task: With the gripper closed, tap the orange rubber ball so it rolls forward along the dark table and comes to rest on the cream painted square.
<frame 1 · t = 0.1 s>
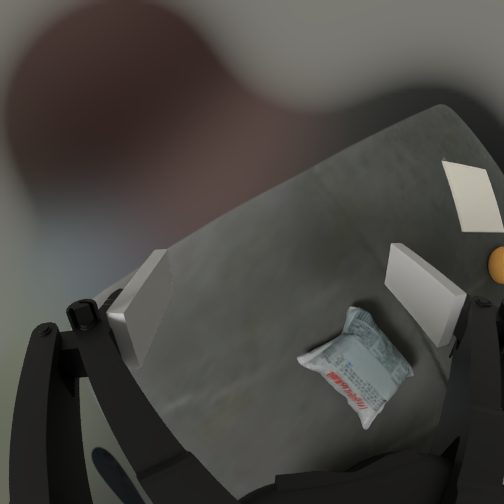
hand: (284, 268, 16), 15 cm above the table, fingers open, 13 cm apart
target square: (475, 197, 34), on the table
packaged food: (353, 367, 29), on the table
ball: (503, 265, 28), on the table
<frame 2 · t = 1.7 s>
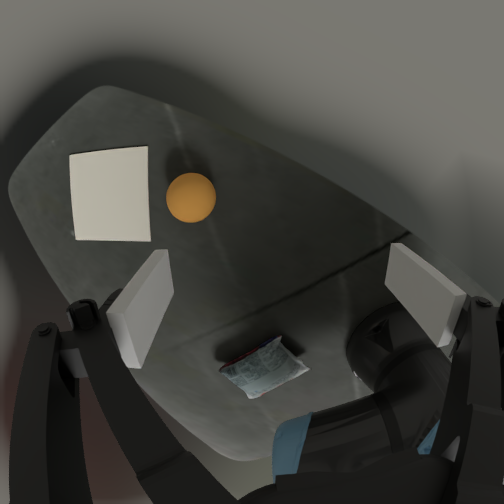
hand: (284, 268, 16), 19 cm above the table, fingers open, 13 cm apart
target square: (107, 195, 32), on the table
packaged food: (264, 360, 42), on the table
ball: (191, 197, 30), on the table
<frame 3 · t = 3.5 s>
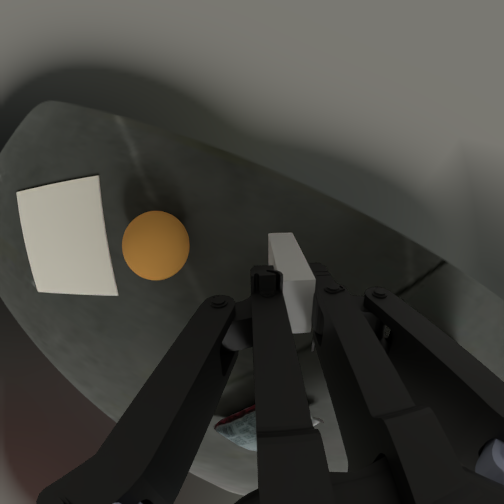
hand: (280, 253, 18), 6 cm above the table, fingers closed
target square: (61, 241, 24), on the table
packaged food: (267, 412, 33), on the table
ball: (155, 245, 21), on the table
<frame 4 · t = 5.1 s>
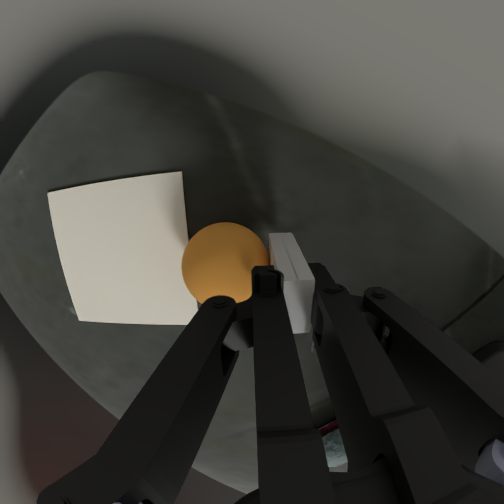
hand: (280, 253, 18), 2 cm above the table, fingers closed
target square: (117, 257, 20), on the table
packaged food: (341, 426, 29), on the table
ball: (225, 266, 18), on the table, touching gripper
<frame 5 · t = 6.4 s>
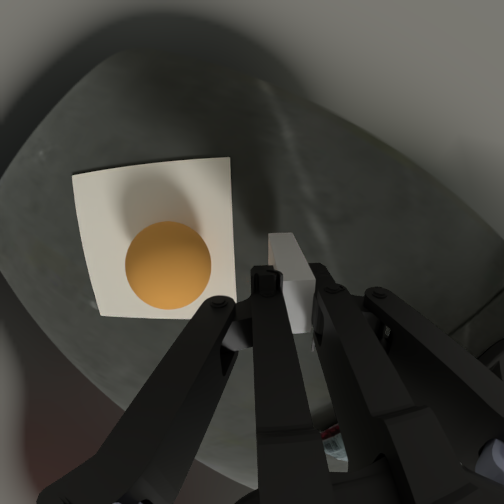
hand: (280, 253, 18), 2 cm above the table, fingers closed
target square: (151, 247, 20), on the table
packaged food: (360, 419, 29), on the table
ball: (167, 265, 17), on the table
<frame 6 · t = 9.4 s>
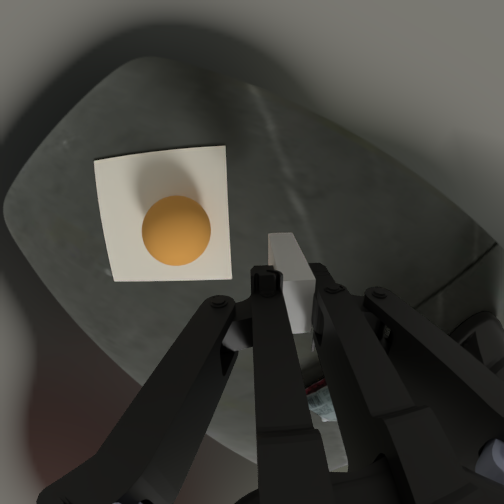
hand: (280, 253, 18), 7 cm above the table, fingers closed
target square: (161, 219, 24), on the table
packaged food: (342, 379, 34), on the table
ball: (176, 230, 21), on the table
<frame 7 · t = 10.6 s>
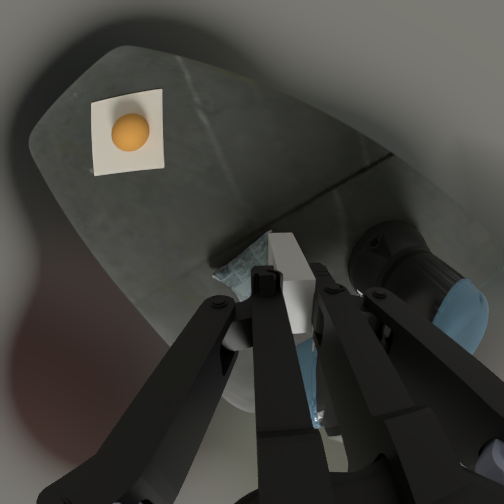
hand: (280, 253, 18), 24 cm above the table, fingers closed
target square: (125, 132, 36), on the table
packaged food: (257, 266, 45), on the table
ball: (130, 132, 33), on the table
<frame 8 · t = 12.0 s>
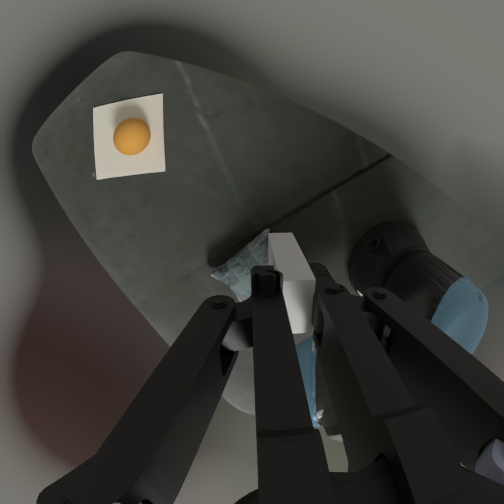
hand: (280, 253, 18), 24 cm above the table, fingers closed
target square: (127, 137, 37), on the table
packaged food: (256, 265, 45), on the table
ball: (131, 136, 34), on the table
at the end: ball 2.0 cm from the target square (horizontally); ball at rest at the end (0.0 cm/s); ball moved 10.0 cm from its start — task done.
